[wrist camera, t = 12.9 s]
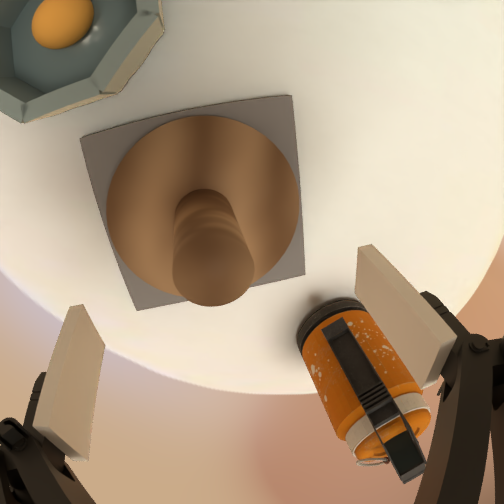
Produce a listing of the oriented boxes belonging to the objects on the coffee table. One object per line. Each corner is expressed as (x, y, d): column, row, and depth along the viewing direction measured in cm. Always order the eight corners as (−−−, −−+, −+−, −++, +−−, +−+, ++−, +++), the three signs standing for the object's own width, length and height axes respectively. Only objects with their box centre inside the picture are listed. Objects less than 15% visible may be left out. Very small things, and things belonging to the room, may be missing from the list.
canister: (311, 365, 38) (374, 505, 20) (274, 313, 32) (349, 497, 15) (373, 329, 37) (457, 457, 20) (350, 268, 31) (469, 426, 14)
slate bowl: (154, -62, 13) (148, -98, 8) (173, 81, 20) (168, 76, 15) (4, -5, 12) (-33, -19, 7) (18, 131, 18) (-21, 145, 13)
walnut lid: (286, 102, 22) (341, 110, 14) (300, 271, 29) (339, 337, 21) (87, 142, 20) (37, 173, 12) (140, 305, 27) (132, 382, 20)
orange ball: (98, -9, 14) (81, -28, 10) (103, 40, 16) (85, 29, 13) (44, 11, 14) (19, -1, 10) (49, 60, 16) (23, 56, 12)
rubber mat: (288, 95, 22) (291, 95, 21) (302, 270, 30) (305, 274, 29) (82, 137, 20) (79, 138, 20) (137, 305, 28) (136, 310, 28)
